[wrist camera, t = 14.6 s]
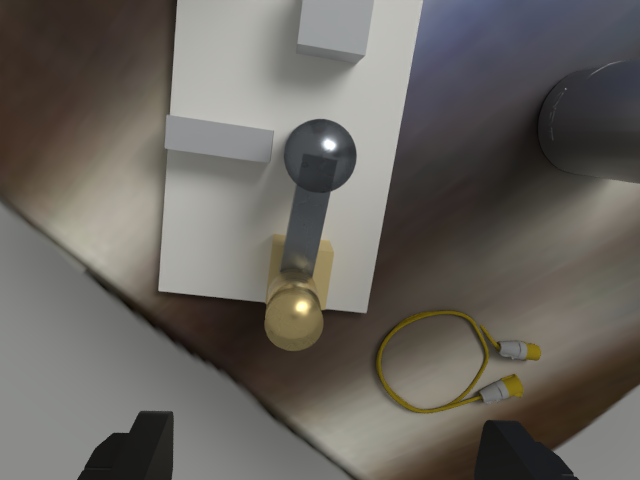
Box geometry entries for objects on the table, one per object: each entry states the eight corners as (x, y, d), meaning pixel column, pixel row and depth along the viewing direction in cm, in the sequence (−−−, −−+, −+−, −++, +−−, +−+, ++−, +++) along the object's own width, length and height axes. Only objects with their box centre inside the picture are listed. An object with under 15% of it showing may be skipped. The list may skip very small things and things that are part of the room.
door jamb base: (421, -10, 36) (448, -37, 30) (364, 308, 42) (377, 337, 36) (184, -55, 34) (163, -94, 28) (161, 287, 40) (140, 313, 34)
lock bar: (291, 112, 31) (292, 107, 24) (359, 127, 32) (381, 126, 25) (256, 299, 34) (248, 344, 27) (318, 309, 35) (327, 356, 28)
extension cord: (478, 439, 47) (486, 452, 45) (354, 379, 45) (357, 390, 43) (544, 347, 45) (555, 356, 43) (417, 278, 43) (424, 285, 41)
